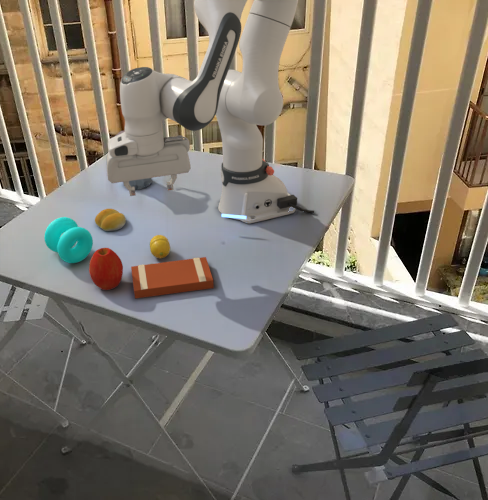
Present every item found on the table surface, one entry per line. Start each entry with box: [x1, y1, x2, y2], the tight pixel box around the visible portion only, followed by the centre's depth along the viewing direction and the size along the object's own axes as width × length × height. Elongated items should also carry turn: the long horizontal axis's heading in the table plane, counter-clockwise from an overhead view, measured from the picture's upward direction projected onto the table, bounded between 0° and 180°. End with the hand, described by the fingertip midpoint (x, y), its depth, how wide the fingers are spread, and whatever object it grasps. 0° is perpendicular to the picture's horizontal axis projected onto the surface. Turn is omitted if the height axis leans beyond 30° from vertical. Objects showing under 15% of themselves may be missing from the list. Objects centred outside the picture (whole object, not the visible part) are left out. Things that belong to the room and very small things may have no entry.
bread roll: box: [94, 208, 127, 232], centre depth 162 cm, size 8×9×4 cm
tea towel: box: [130, 256, 214, 299], centre depth 138 cm, size 19×10×2 cm, turn 97°
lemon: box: [149, 234, 171, 259], centre depth 146 cm, size 7×5×5 cm
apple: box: [88, 247, 124, 291], centre depth 136 cm, size 8×8×11 cm
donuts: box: [43, 216, 94, 264], centre depth 148 cm, size 10×10×10 cm
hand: (151, 192), depth 139 cm, fingers open, 8 cm apart
